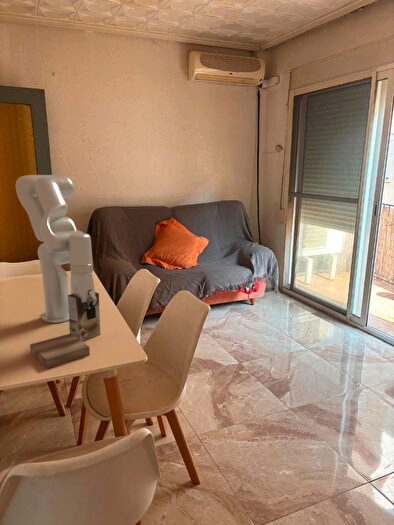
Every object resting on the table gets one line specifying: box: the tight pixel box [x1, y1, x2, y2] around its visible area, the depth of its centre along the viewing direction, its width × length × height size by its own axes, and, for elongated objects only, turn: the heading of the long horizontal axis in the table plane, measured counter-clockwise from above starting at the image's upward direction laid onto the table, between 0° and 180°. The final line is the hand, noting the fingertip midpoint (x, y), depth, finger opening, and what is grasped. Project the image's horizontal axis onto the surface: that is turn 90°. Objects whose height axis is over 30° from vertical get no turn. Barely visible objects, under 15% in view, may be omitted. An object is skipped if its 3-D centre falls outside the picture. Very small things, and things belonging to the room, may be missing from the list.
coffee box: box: [68, 291, 101, 342], centre depth 143 cm, size 9×6×16 cm
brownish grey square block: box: [29, 332, 91, 370], centre depth 130 cm, size 14×14×3 cm
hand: (85, 315), depth 142 cm, fingers open, 9 cm apart
